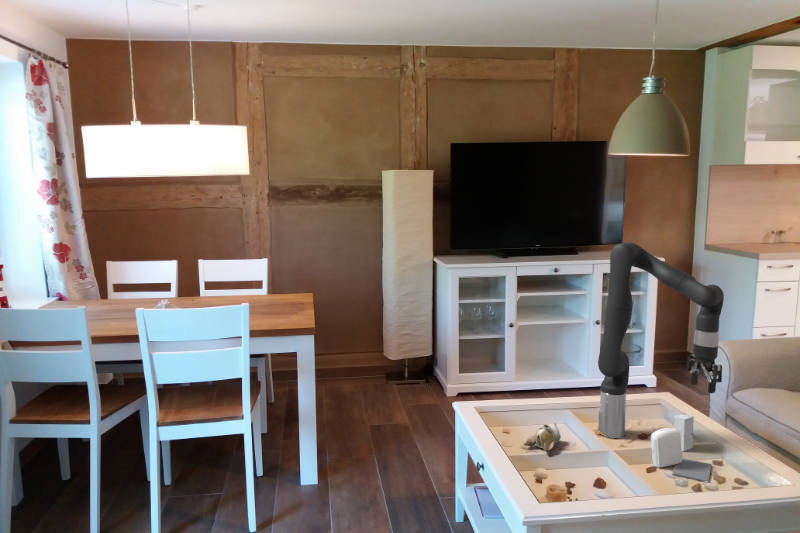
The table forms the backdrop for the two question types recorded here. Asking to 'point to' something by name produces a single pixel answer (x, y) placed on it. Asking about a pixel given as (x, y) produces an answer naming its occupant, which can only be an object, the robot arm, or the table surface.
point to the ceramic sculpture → (545, 437)
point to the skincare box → (685, 430)
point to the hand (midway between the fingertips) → (702, 388)
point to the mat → (692, 470)
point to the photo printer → (666, 447)
